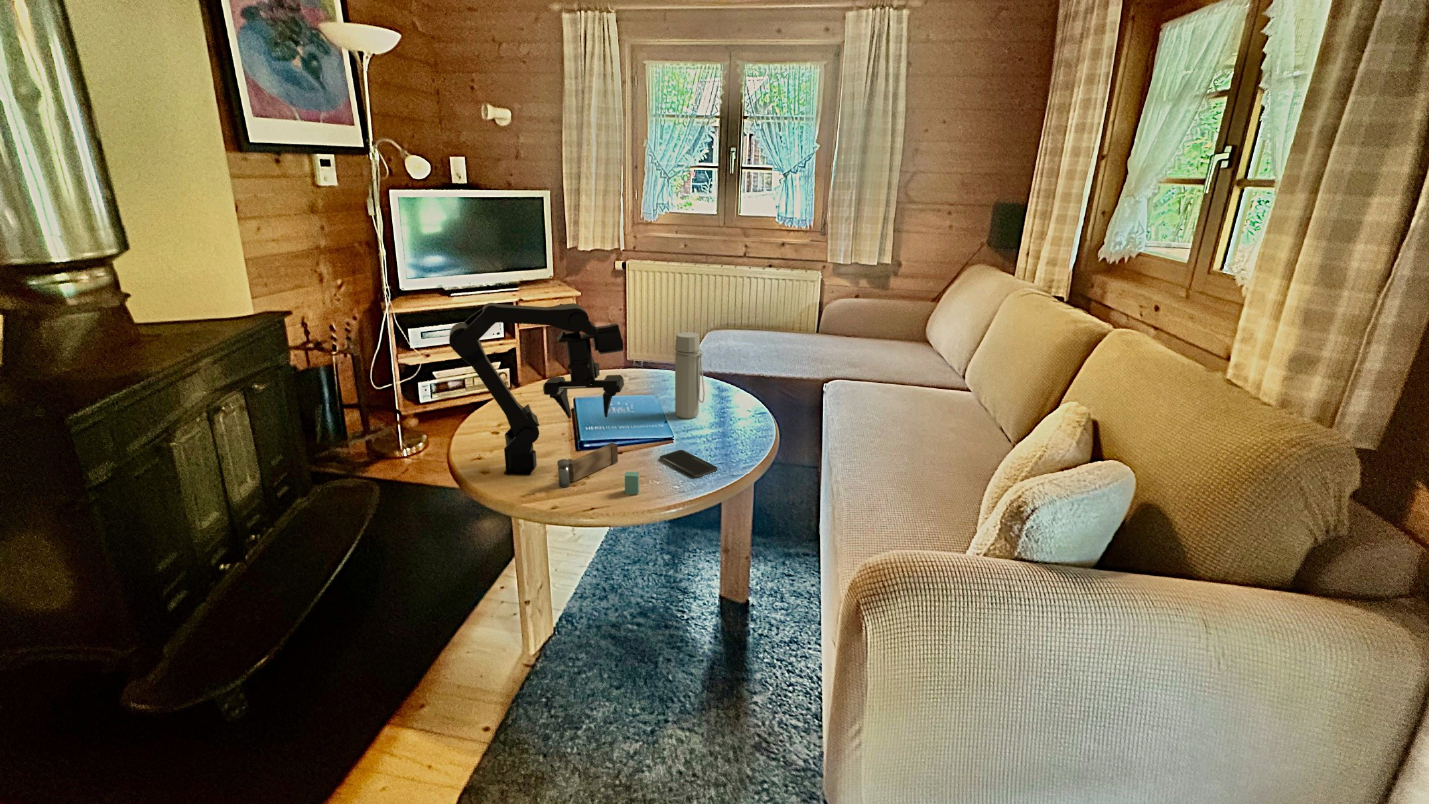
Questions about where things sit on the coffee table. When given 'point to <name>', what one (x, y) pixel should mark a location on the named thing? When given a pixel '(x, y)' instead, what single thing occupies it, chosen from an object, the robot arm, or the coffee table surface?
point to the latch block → (631, 482)
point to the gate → (590, 461)
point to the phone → (688, 464)
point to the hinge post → (564, 477)
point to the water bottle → (687, 375)
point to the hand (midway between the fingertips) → (588, 417)
